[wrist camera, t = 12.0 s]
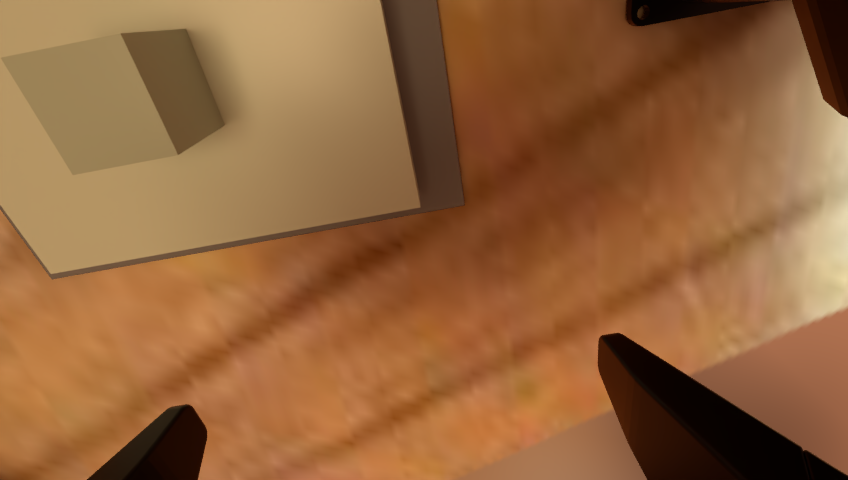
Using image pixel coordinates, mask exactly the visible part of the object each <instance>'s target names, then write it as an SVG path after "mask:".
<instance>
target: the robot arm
mask: <svg viewBox="0 0 848 480" xmlns="http://www.w3.org/2000/svg"><path fill="white" fill-rule="evenodd" d="M769 1H779V0H627V13H626V16H627V21H628V22H629V24H631V25H633V26H645V25H650V24H656V23H661V22H666V21H671V20H676V19H681V18H687V17H692V16H697V15H702V14H707V13H712V12H718V11H723V10H728V9H733V8H738V7H744V6H749V5H754V4H759V3H764V2H769ZM792 2H793V6H794V9H795V12H796V15H797V18H798V21H799V24H800V27H801V31H802V34H803V37H804V40H805V43H806V46H807V49H808V52H809V56H810V59H811V62H812V65H813V68H814V71H815V74H816V77H817V80H818V84H819V87H820V90H821V93H822V96H823V99H824V100H825V101H826V102H827V103H828V104H829V105H831V106H832V107H833V108H834V109H835V110H836V111H837V112H839V113H840V114H841V115H843V116H845V117H848V0H792ZM641 6H643V7H644V10H645V12H644V15H643V16H642V17H641V18H640V19H639V18H638V17H637V12H638V9H639V8H640V7H641ZM598 369H599V372H600V375H601V378H602V380H603V383H604V385H605V388H606V390H607V393H608V395H609V398H610V400H611V403H612V405H613V408H614V410H615V412H616V415H617V417H618V420H619V422H620V425H621V427H622V429H623V432H624V434H625V437H626V439H627V441H628V444H629V446H630V448H631V450H632V452H633V454H634V456H635V457H636V459H637V461H638V463H639V465H640V466H641V469H642V470H643V472H644V474H645V476H646V478H647V480H848V475H846V474H844V473H843V472H841V471H840V470H838V469H836V468H835V467H833V466H831V465H830V464H828V463H827V462H825V461H823V460H822V459H820V458H819V457H817V456H816V455H814V454H812V453H811V452H809V451H807V450H804V451H803V449H802V447H801V446H799V445H798V444H796V443H795V442H793V441H791V440H790V439H788V438H787V437H785V436H783V435H782V434H780V433H779V432H777V431H775V430H774V429H772V428H771V427H769V426H768V425H766V424H764V423H763V422H761V421H759V420H758V419H756V418H755V417H753V416H752V415H750V414H748V413H747V412H745V411H744V410H742V409H740V408H739V407H737V406H735V405H734V404H733V403H731V402H729V401H728V400H726V399H725V398H723V397H721V396H720V395H718V394H717V393H715V392H713V391H712V390H710V389H709V388H707V387H705V386H704V385H702V384H701V383H699V382H697V381H696V380H694V379H693V378H691V377H690V376H688V375H686V374H685V373H683V372H682V371H680V370H678V369H677V368H675V367H674V366H672V365H670V364H669V363H667V362H666V361H664V360H662V359H661V358H659V357H658V356H656V355H655V354H653V353H651V352H650V351H648V350H647V349H645V348H643V347H642V346H640V345H639V344H637V343H635V342H634V341H632V340H631V339H629V338H627V337H626V336H624V335H623V334H620V333H613V334H607V335H602V336H601V337H600V338H599V344H598ZM206 441H207V429H206V427H205V425H204V423H203V422H202V420H201V419H200V417H199V416H198V414H197V413H196V411H195V410H194V408H193V407H192V406H190V405H187V404H185V405H179V406H173V407H170V408H168V409H167V410H166V411H165V412H163V413H162V414H161V415H160V416H159V417H158V418H157V419H155V420H154V421H153V422H152V423H151V424H150V425H149V426H147V427H146V428H145V429H144V430H143V431H142V432H141V433H139V434H138V435H137V436H136V437H135V438H134V439H133V440H132V441H130V442H129V443H128V444H127V445H126V446H125V447H124V448H122V449H121V450H120V451H119V452H118V453H117V454H116V455H114V456H113V457H112V458H111V459H110V460H109V461H108V462H106V463H105V464H104V465H103V466H102V467H101V468H100V469H99V470H97V471H96V472H95V473H94V474H93V475H92V476H91V477H89V478H88V479H87V480H198V476H199V472H200V467H201V463H202V458H203V454H204V450H205V445H206Z"/></svg>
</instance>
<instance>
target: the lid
mask: <svg viewBox="0 0 848 480" xmlns="http://www.w3.org/2000/svg"><path fill="white" fill-rule="evenodd" d="M0 205H1V207H2V208H3V209H4V211H5V212H6V214H7V215H8V216H9V218H10V219H11V220H12V222H13V223H14V224H15V226H16V227H17V229H18V230H19V231H20V233H21V234H22V235H23V237H24V238H25V239H26V241H27V242H28V244H29V245H30V246H31V248H32V249H33V250H34V252H35V253H36V254H37V256H38V257H39V259H40V260H41V261H42V263H43V264H44V265H45V267H46V268H47V269H48V271H49V272H50V274H54V273H60V272H65V271H71V270H77V269H82V268H88V267H93V266H99V265H104V264H110V263H115V262H121V261H126V260H132V259H137V258H143V257H149V256H154V255H160V254H165V253H171V252H176V251H182V250H187V249H193V248H198V247H204V246H209V245H215V244H221V243H226V242H232V241H237V240H243V239H248V238H254V237H259V236H265V235H270V234H276V233H281V232H287V231H293V230H298V229H304V228H309V227H315V226H320V225H326V224H331V223H337V222H342V221H348V220H353V219H359V218H365V217H370V216H376V215H381V214H387V213H392V212H398V211H403V210H409V209H414V208H420V197H419V189H418V184H417V179H416V173H415V168H414V163H413V158H412V153H411V148H410V142H409V137H408V132H407V127H406V122H405V117H404V112H403V106H402V101H401V96H400V91H399V86H398V81H397V75H396V70H395V65H394V60H393V55H392V50H391V44H390V39H389V34H388V29H387V24H386V19H385V13H384V8H383V3H382V0H0Z"/></svg>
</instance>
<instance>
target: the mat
mask: <svg viewBox="0 0 848 480" xmlns="http://www.w3.org/2000/svg"><path fill="white" fill-rule="evenodd" d="M382 3H383V8H384V13H385V19H386V24H387V29H388V34H389V39H390V44H391V50H392V55H393V60H394V65H395V70H396V75H397V81H398V86H399V91H400V96H401V101H402V106H403V112H404V117H405V122H406V127H407V132H408V137H409V142H410V148H411V153H412V158H413V163H414V168H415V173H416V179H417V184H418V189H419V197H420V208H414V209H409V210H403V211H398V212H392V213H387V214H381V215H376V216H370V217H365V218H359V219H353V220H348V221H342V222H337V223H331V224H326V225H320V226H315V227H309V228H304V229H298V230H293V231H287V232H281V233H276V234H270V235H265V236H259V237H254V238H248V239H243V240H237V241H232V242H226V243H221V244H215V245H209V246H204V247H198V248H193V249H187V250H182V251H176V252H171V253H165V254H160V255H154V256H149V257H143V258H137V259H132V260H126V261H121V262H115V263H110V264H104V265H99V266H93V267H88V268H82V269H77V270H71V271H65V272H60V273H54V274H50V272H49V271H48V269H47V268H46V267H45V265H44V264H43V263H42V261H41V260H40V259H39V257H38V256H37V254H36V253H35V252H34V250H33V249H32V248H31V246H30V245H29V244H28V242H27V241H26V239H25V238H24V237H23V235H22V234H21V233H20V231H19V230H18V229H17V227H16V226H15V224H14V223H13V222H12V220H11V219H10V218H9V216H8V215H7V214H6V212H5V211H4V209H3V208H2V207H1V205H0V209H1V211H2V212H3V214H4V215H5V216H6V218H7V219H8V220H9V222H10V223H11V224H12V226H13V227H14V228H15V230H16V231H17V233H18V234H19V235H20V237H21V238H22V239H23V241H24V242H25V243H26V245H27V246H28V248H29V249H30V250H31V252H32V253H33V254H34V256H35V257H36V258H37V260H38V261H39V262H40V264H41V265H42V267H43V268H44V269H45V271H46V272H47V273H48V275H49V276H50V277H51V279H57V278H62V277H68V276H73V275H79V274H84V273H90V272H96V271H101V270H107V269H112V268H118V267H124V266H129V265H135V264H140V263H146V262H151V261H157V260H163V259H168V258H174V257H179V256H185V255H190V254H196V253H202V252H207V251H213V250H218V249H224V248H230V247H235V246H241V245H246V244H252V243H257V242H263V241H269V240H274V239H280V238H285V237H291V236H296V235H302V234H308V233H313V232H319V231H324V230H330V229H335V228H341V227H347V226H352V225H358V224H363V223H369V222H375V221H380V220H386V219H391V218H397V217H402V216H408V215H414V214H419V213H425V212H430V211H436V210H441V209H447V208H453V207H458V206H464V205H465V204H464V196H463V189H462V182H461V175H460V167H459V160H458V153H457V146H456V138H455V131H454V124H453V117H452V109H451V102H450V95H449V88H448V80H447V73H446V66H445V59H444V51H443V44H442V37H441V30H440V22H439V15H438V8H437V1H436V0H382Z"/></svg>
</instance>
